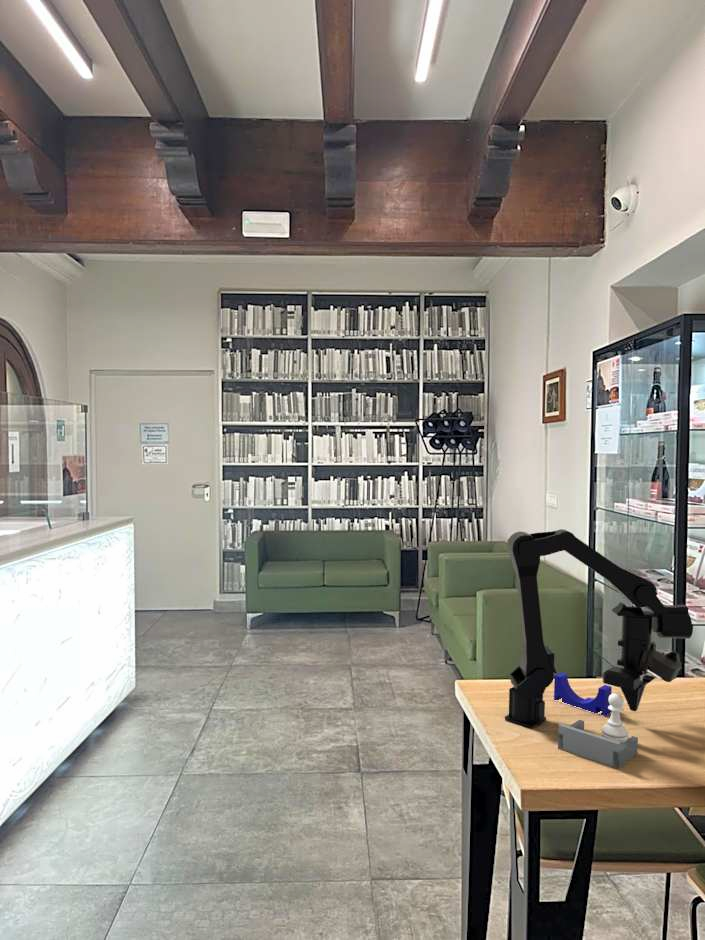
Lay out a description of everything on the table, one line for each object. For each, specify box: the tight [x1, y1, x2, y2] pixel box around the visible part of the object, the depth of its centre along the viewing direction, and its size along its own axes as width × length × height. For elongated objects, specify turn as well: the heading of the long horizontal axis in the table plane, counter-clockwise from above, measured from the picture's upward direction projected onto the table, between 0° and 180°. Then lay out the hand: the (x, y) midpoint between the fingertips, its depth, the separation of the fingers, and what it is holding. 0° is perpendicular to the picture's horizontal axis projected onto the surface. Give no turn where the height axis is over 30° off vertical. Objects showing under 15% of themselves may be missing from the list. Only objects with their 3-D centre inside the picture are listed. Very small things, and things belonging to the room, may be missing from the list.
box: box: [557, 719, 639, 770], centre depth 129 cm, size 12×9×4 cm
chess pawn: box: [600, 692, 630, 744], centre depth 134 cm, size 5×5×9 cm
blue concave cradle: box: [553, 672, 613, 717], centre depth 151 cm, size 12×4×6 cm, turn 44°
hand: (633, 710), depth 141 cm, fingers closed
